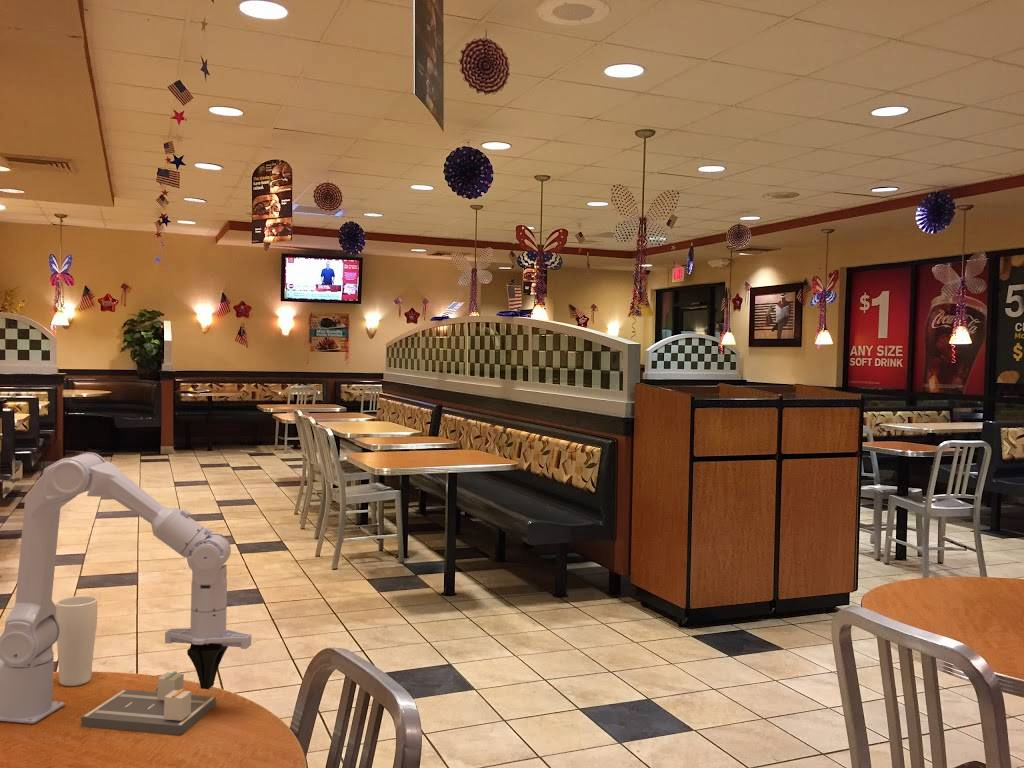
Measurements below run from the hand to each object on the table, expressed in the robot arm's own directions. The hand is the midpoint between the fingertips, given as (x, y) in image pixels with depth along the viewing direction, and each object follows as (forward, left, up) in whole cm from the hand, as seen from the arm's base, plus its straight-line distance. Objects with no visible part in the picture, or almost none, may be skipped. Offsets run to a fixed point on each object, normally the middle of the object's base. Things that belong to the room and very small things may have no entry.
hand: (207, 686), depth 145 cm
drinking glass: (-29, +7, -4) cm, 30 cm away
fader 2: (-2, -7, -2) cm, 7 cm away
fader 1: (-7, 0, -2) cm, 7 cm away
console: (-8, -4, -4) cm, 10 cm away
